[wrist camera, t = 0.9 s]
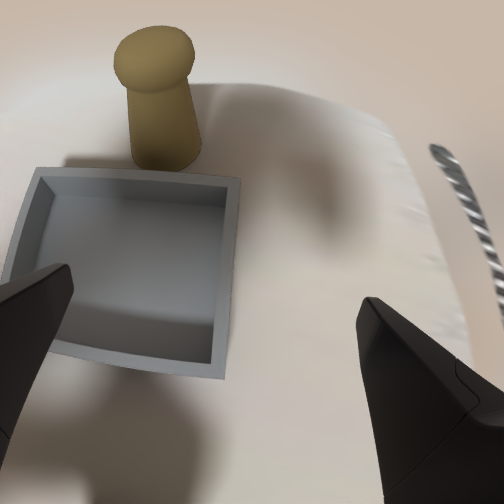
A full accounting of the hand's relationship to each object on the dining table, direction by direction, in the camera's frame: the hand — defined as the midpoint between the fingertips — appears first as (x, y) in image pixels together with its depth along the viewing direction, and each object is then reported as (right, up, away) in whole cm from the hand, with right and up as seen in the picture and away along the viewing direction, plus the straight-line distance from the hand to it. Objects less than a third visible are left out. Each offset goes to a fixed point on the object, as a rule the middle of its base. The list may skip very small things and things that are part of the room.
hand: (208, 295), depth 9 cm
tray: (-8, 0, +12) cm, 15 cm away
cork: (-6, +10, +17) cm, 20 cm away
